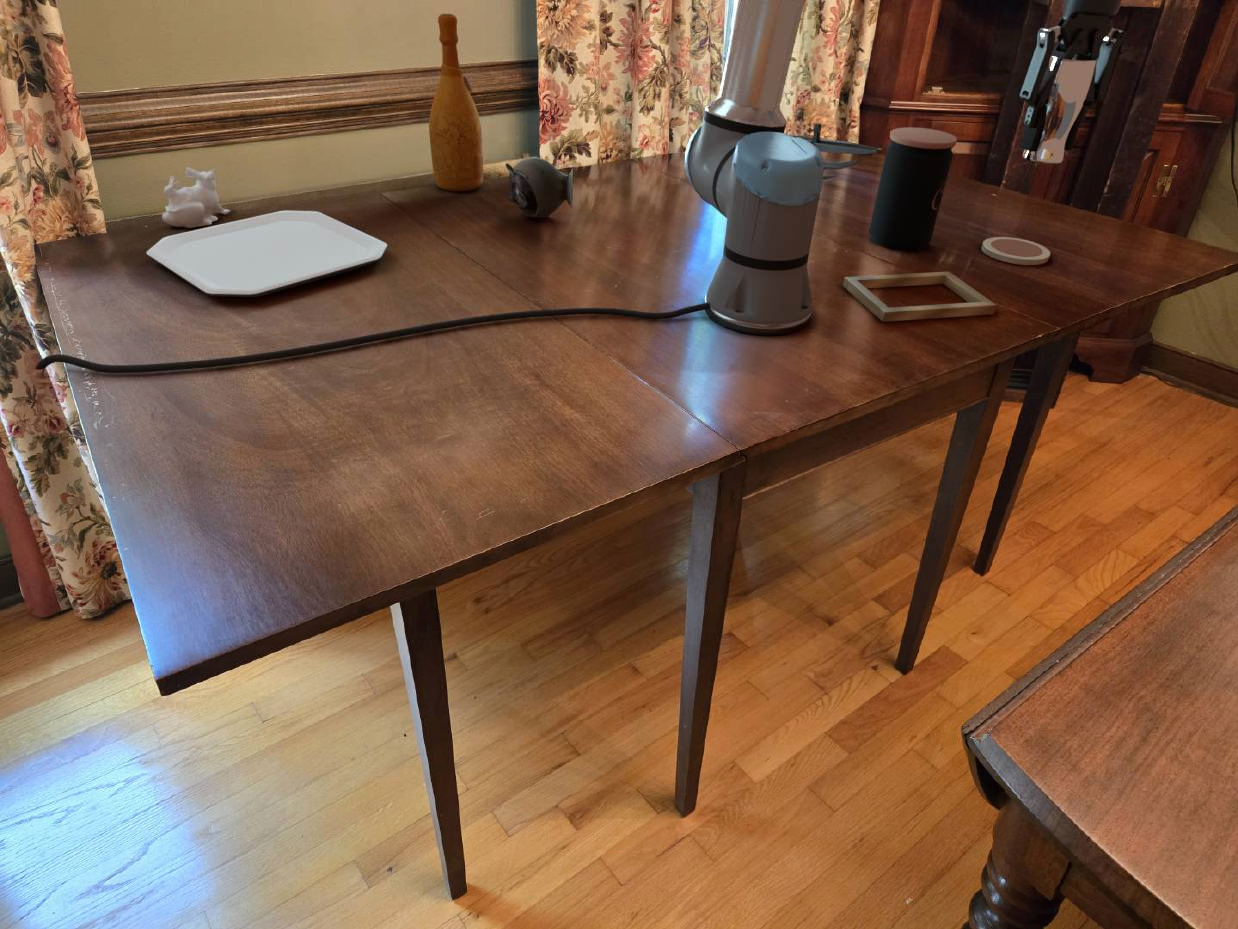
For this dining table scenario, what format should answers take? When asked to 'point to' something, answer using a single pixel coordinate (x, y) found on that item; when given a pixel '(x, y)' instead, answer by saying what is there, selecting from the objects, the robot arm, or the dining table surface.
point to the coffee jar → (911, 188)
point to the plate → (266, 253)
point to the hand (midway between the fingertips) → (1045, 148)
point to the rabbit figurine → (193, 201)
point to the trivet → (1015, 251)
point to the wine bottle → (454, 120)
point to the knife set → (838, 150)
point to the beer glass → (1062, 107)
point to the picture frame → (972, 308)
